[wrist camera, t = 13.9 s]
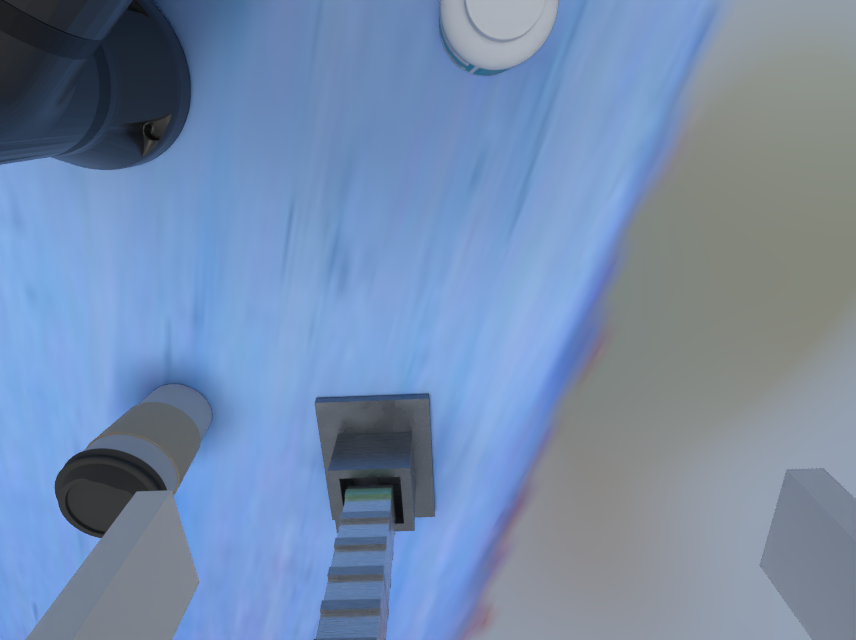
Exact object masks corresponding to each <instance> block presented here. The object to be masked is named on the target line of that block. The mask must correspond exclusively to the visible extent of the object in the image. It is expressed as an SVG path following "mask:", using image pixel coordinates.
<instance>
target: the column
mask: <svg viewBox="0 0 856 640" xmlns="http://www.w3.org/2000/svg"><path fill="white" fill-rule="evenodd" d="M395 521H396V517H395V506H394V495H393V485H366V486H348V488H347V489H346V492H345V502H344V507H343V512H341V515H340V526H339V530H338V535H337V538H335V543H334V548H335V549H334V554H333V559H332V563H331V567H329V571H328V582H327V587H326V592H325V596H324V600H322V604H321V608H320V612H321V615H320V620H319V625H318V629H317V634H316V639H314V640H386V632H387V620H388V615H389V595H390V588H391V570H392V560H393V546H394V535H395Z"/></svg>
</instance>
